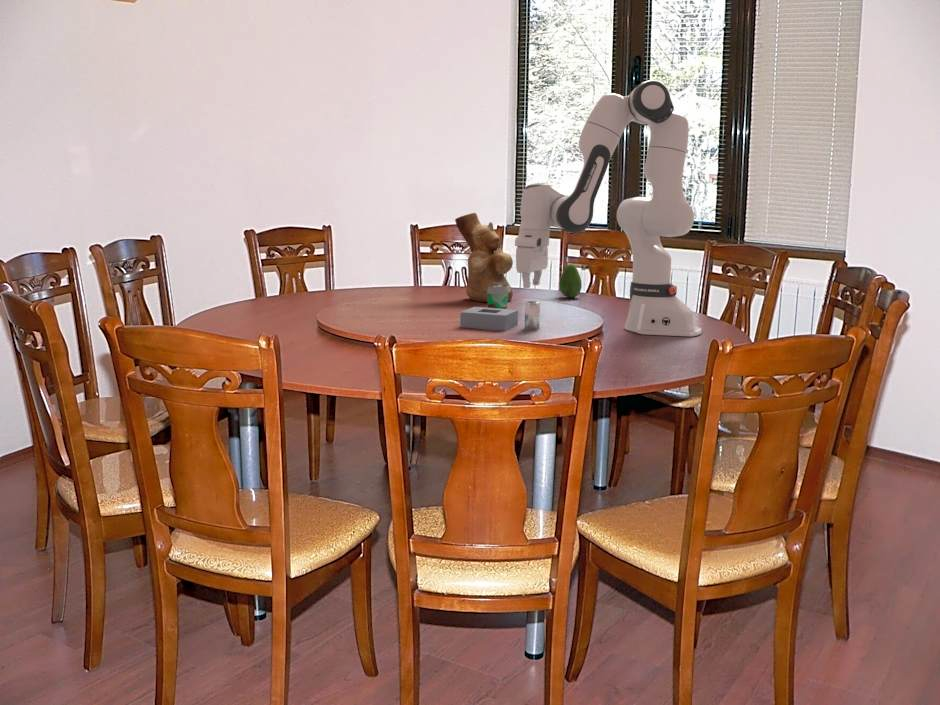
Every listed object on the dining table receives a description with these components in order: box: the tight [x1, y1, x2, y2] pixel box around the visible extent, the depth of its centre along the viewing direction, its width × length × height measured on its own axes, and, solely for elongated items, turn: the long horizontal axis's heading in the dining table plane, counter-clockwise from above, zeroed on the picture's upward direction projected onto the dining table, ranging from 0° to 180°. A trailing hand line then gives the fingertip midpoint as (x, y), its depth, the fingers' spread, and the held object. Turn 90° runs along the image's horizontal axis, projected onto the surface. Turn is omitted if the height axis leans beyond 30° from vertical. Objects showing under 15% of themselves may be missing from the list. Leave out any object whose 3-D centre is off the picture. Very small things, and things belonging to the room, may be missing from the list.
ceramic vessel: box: [454, 212, 514, 303], centre depth 372 cm, size 16×22×30 cm
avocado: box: [558, 264, 582, 299], centre depth 383 cm, size 8×8×12 cm
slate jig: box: [459, 306, 519, 332], centre depth 320 cm, size 14×12×4 cm
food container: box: [487, 282, 511, 309], centre depth 338 cm, size 12×6×10 cm, turn 168°
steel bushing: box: [523, 300, 541, 331], centre depth 317 cm, size 4×4×8 cm
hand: (531, 286), depth 315 cm, fingers open, 8 cm apart
